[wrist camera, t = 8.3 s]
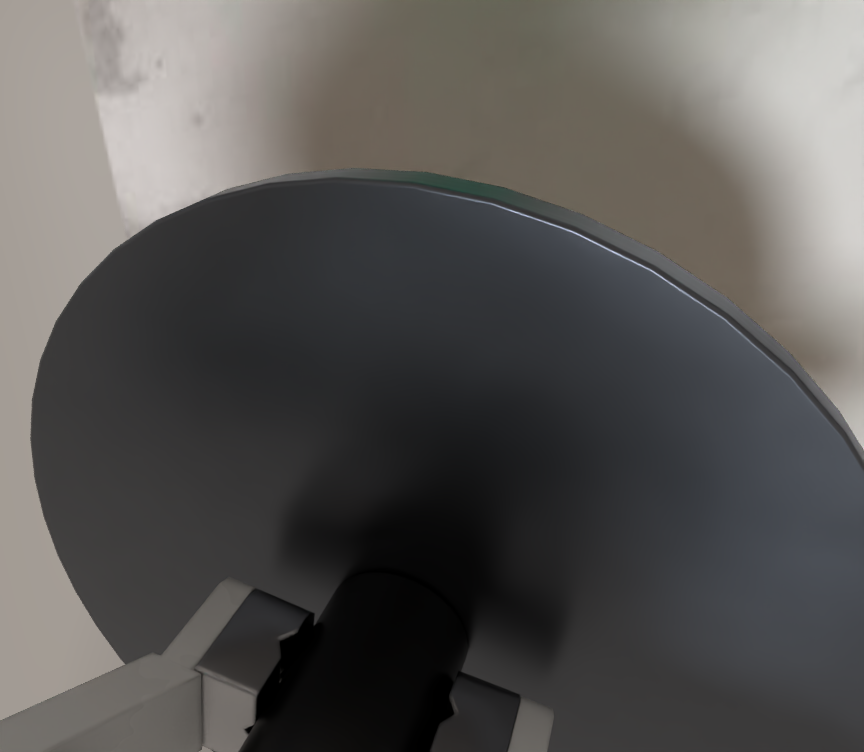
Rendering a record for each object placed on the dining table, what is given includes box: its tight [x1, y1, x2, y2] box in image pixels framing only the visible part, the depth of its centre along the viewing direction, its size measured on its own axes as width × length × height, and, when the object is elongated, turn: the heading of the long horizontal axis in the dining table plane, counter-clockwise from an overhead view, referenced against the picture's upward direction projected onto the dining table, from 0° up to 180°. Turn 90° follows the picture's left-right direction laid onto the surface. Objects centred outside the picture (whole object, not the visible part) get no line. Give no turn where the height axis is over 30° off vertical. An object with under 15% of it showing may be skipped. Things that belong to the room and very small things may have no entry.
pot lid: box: [31, 168, 864, 752], centre depth 11 cm, size 15×15×5 cm
